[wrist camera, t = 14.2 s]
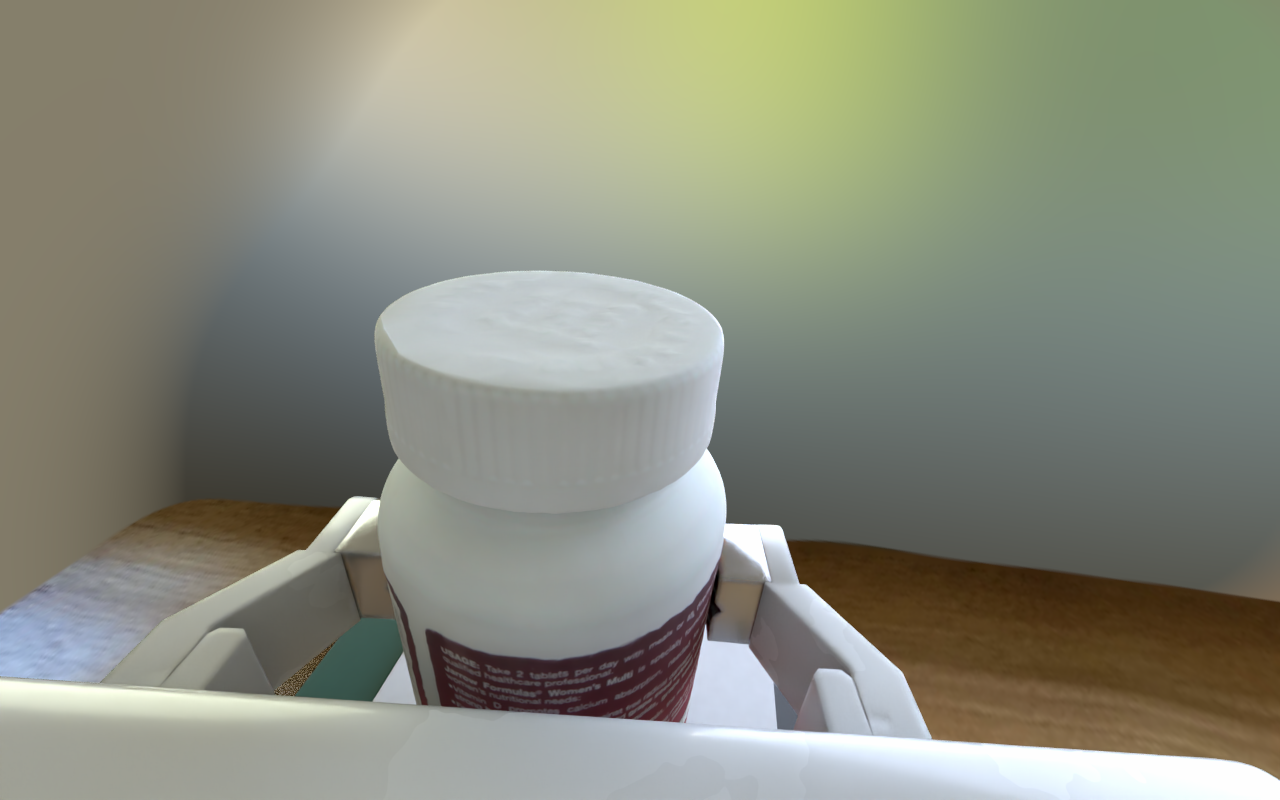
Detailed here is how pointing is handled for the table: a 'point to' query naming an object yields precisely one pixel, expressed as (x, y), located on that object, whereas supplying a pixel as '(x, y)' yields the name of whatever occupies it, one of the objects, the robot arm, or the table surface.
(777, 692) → the scale
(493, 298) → the pill bottle
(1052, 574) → the table surface
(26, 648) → the table surface
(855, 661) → the robot arm
